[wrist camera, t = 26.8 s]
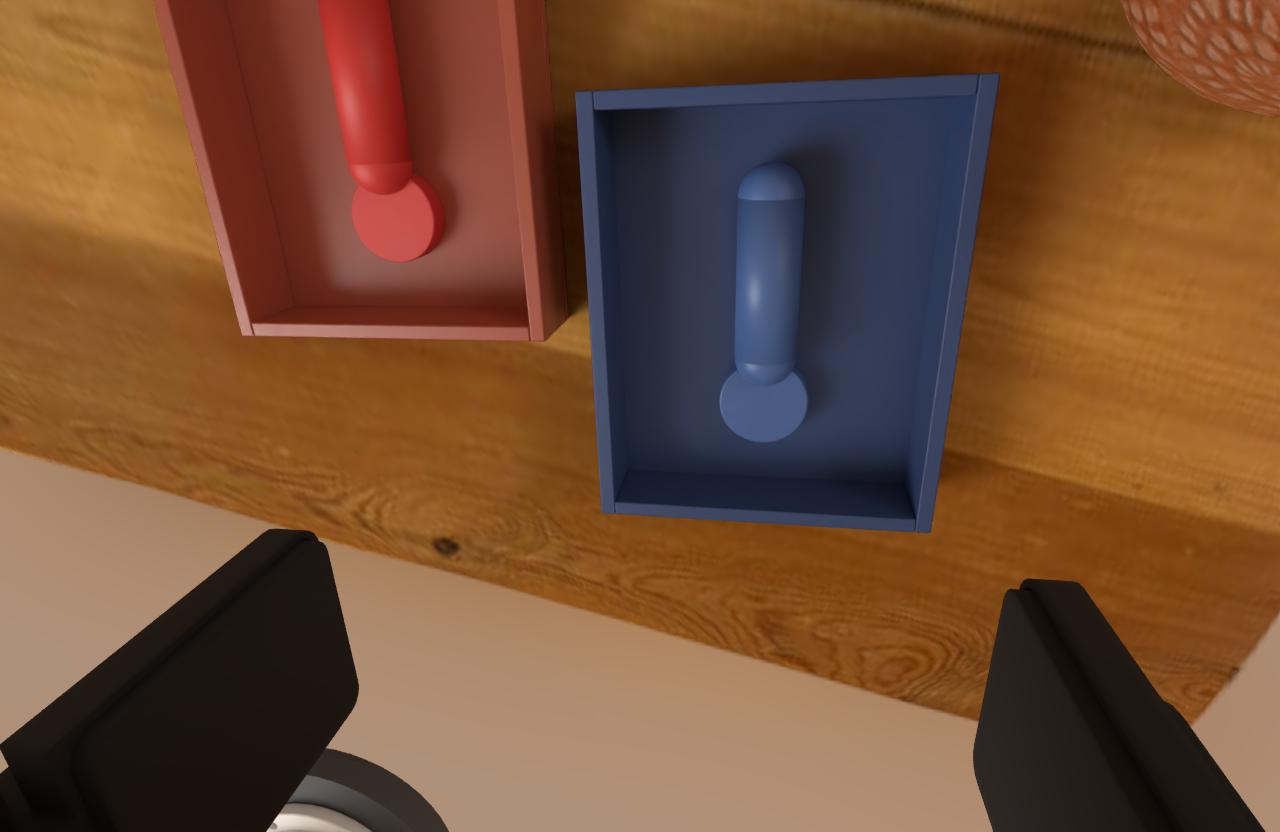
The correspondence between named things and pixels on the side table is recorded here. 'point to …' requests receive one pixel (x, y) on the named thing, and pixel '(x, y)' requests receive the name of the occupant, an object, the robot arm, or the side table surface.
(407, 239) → the red spoon
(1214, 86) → the planter
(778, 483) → the blue bin
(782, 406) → the blue spoon
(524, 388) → the side table surface
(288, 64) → the red bin
